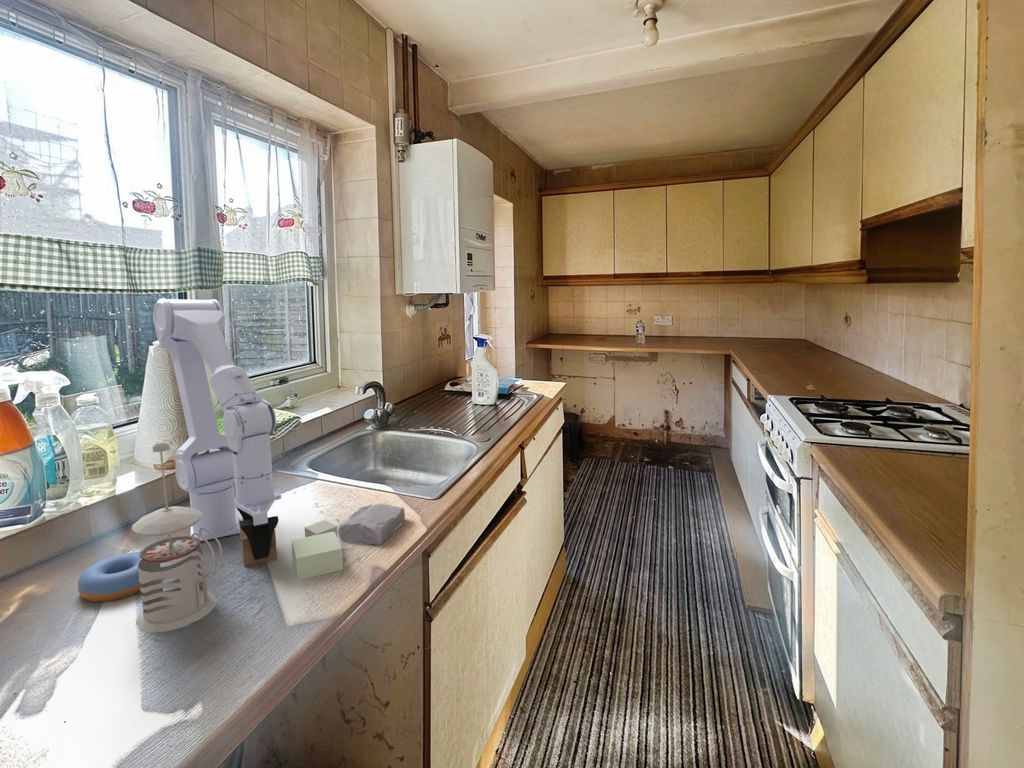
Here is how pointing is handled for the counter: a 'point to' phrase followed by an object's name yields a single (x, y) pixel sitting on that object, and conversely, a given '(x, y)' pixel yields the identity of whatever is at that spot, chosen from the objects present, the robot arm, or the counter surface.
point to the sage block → (317, 555)
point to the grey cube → (320, 528)
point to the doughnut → (111, 578)
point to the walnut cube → (247, 551)
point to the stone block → (371, 524)
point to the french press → (189, 591)
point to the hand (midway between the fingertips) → (258, 548)
